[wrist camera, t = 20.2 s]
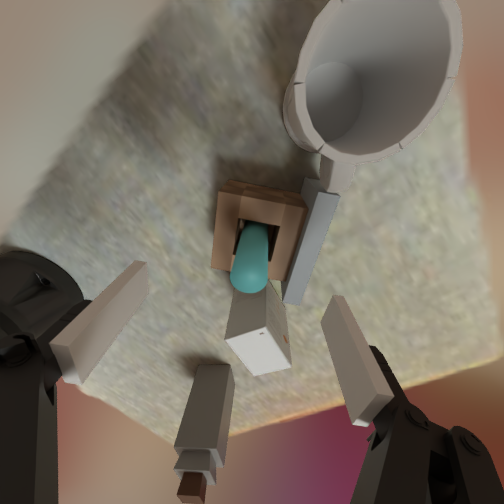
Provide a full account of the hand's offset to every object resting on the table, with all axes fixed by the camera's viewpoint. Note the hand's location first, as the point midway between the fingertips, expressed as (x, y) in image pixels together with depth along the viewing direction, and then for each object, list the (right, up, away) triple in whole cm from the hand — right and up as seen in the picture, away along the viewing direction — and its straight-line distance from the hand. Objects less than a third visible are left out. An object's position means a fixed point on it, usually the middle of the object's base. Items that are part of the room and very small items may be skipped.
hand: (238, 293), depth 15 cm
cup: (+9, +18, +8) cm, 21 cm away
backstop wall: (+7, +6, +14) cm, 17 cm away
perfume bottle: (-6, -23, +31) cm, 39 cm away
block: (+2, +7, +14) cm, 16 cm away
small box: (+2, -4, +20) cm, 21 cm away
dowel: (+2, +7, +12) cm, 14 cm away
